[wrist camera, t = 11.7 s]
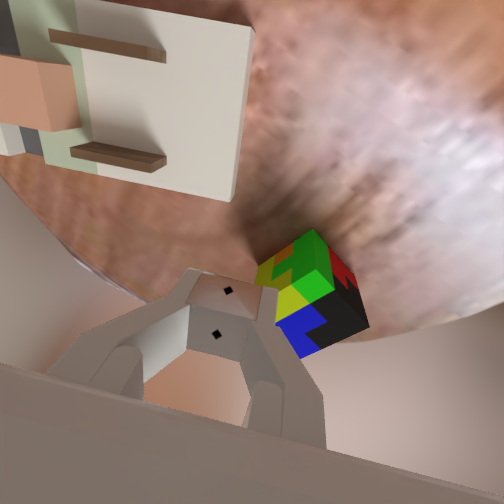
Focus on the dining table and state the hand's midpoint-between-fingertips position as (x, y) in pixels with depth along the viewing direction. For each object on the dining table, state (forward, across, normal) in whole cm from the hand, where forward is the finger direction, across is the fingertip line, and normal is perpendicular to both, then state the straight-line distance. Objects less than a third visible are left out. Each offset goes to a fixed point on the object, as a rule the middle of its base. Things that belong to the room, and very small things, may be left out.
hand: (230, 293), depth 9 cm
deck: (+28, +20, -1) cm, 34 cm away
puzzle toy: (+28, -8, +16) cm, 33 cm away
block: (+24, +26, -1) cm, 36 cm away
